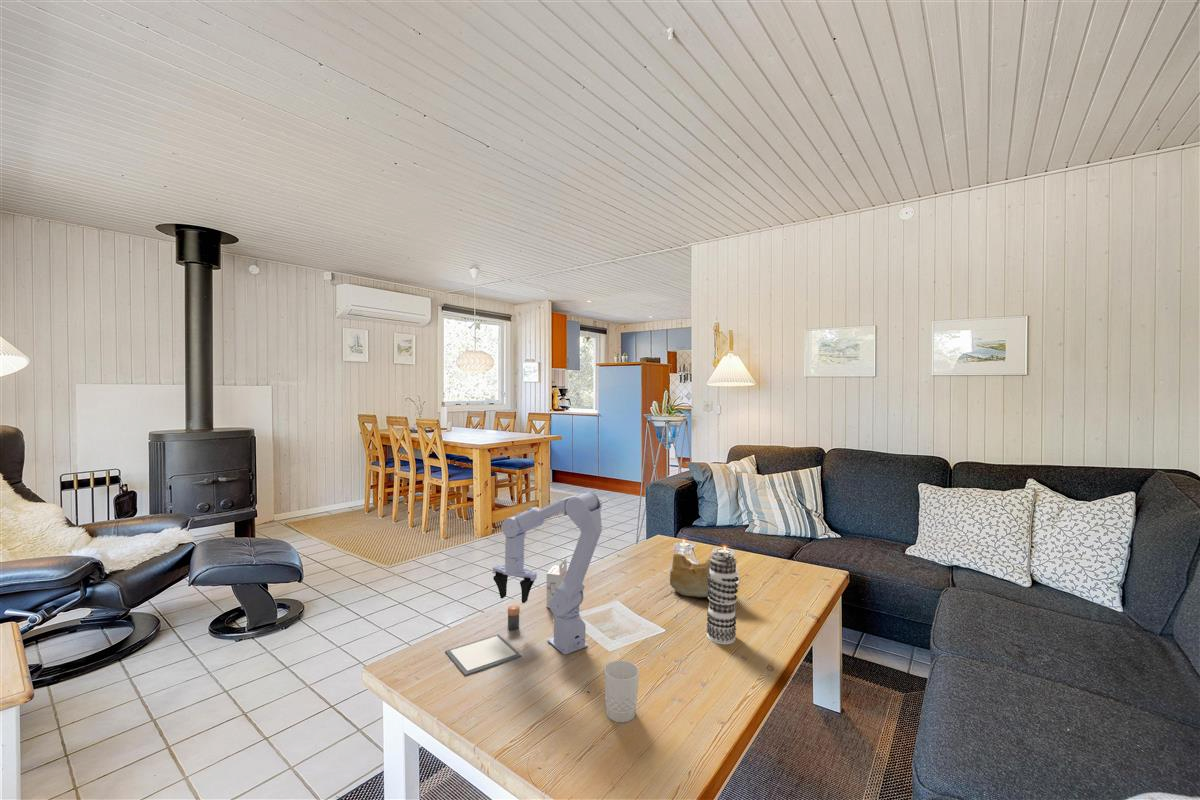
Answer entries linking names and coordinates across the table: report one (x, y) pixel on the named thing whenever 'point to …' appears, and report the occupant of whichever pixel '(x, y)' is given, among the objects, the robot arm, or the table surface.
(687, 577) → the rough brown rock
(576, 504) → the robot arm
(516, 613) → the orange-topped grey cylinder
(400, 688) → the table surface
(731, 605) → the decorative candle
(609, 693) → the white cup
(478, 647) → the writing pad
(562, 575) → the ink cartridge box
